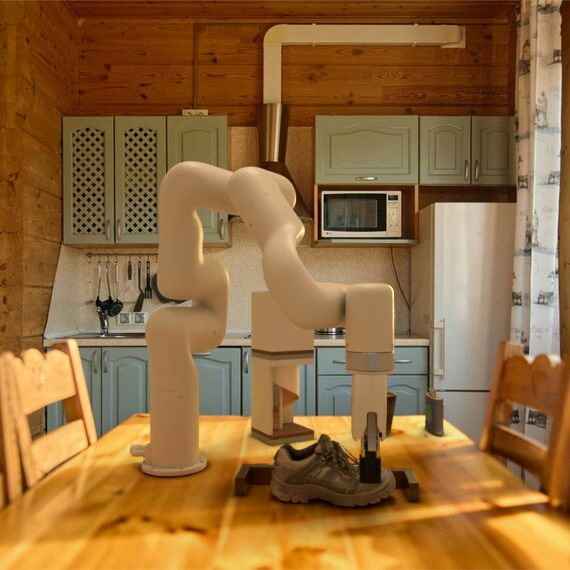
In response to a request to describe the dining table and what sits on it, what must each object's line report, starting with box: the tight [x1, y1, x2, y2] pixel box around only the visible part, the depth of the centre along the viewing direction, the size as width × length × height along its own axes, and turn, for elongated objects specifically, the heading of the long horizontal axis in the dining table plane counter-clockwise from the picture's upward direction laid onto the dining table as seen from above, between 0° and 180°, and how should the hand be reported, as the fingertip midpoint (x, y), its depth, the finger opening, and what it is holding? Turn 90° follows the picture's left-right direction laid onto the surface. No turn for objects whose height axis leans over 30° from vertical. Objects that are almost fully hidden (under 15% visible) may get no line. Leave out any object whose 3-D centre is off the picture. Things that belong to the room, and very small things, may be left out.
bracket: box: [234, 463, 420, 503], centre depth 94 cm, size 31×8×3 cm, turn 85°
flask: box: [424, 388, 445, 437], centre depth 135 cm, size 9×3×11 cm, turn 2°
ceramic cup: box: [386, 390, 398, 437], centre depth 132 cm, size 13×10×10 cm
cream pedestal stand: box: [250, 290, 315, 446], centre depth 130 cm, size 11×11×35 cm
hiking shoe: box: [269, 433, 397, 508], centre depth 91 cm, size 9×21×12 cm
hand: (370, 481), depth 83 cm, fingers closed
